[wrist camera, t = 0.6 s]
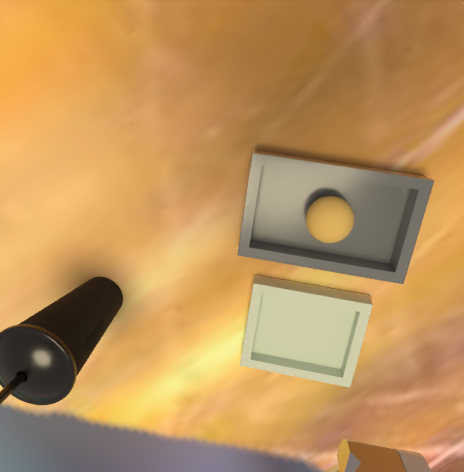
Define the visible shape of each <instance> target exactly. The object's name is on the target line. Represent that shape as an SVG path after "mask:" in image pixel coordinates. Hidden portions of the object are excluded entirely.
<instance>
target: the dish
mask: <svg viewBox="0 0 464 472" xmlns="http://www.w3.org/2000/svg"><path fill="white" fill-rule="evenodd" d="M433 183H434V180H432V179H430V178H428V177H426V176H424V175H419V174H412V173H405V172H399V171H392V170H385V169H379V168H372V167H366V166H359V165H352V164H346V163H339V162H332V161H326V160H319V159H312V158H306V157H299V156H293V155H286V154H279V153H273V152H266V151H259V150H255V151H254V152H253V154H252V161H251V168H250V174H249V181H248V188H247V195H246V201H245V208H244V215H243V222H242V228H241V235H240V242H239V249H238V255H239V256H245V257H251V258H257V259H262V260H268V261H274V262H279V263H285V264H291V265H297V266H302V267H308V268H314V269H319V270H325V271H331V272H337V273H342V274H348V275H354V276H359V277H365V278H371V279H377V280H382V281H388V282H394V283H400V284H404V280H405V277H406V274H407V270H408V267H409V263H410V260H411V257H412V253H413V250H414V247H415V243H416V240H417V237H418V233H419V230H420V226H421V223H422V220H423V216H424V213H425V210H426V206H427V203H428V200H429V196H430V193H431V189H432V186H433ZM324 196H336V197H339V198H341V199H343V200H345V201H346V202H347V203H348V204H349V205H350V207H351V208H352V211H353V214H354V225H353V228H352V230H351V232H350V233H349V235H348V236H347V237H346V238H344V239H343V240H341V241H338V242H335V243H324V242H321V241H319V240H317V239H315V238H314V237H313V236H312V235H311V234H310V233H309V231H308V229H307V226H306V213H307V211H308V209H309V207H310V206H311V204H312V203H313V202H314V201H316V200H317V199H319V198H321V197H324Z"/></svg>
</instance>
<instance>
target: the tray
mask: <svg viewBox="0 0 464 472" xmlns="http://www.w3.org/2000/svg"><path fill="white" fill-rule="evenodd" d="M372 306H373V304H372V302H371V300H370V297H369V295H367V294H361V293H356V292H350V291H344V290H339V289H333V288H328V287H322V286H316V285H311V284H305V283H300V282H294V281H288V280H283V279H277V278H272V277H266V276H260V275H255V279H254V284H253V290H252V296H251V302H250V308H249V314H248V320H247V326H246V332H245V338H244V344H243V351H242V357H241V363H240V366H245V367H250V368H255V369H260V370H265V371H270V372H275V373H280V374H285V375H290V376H295V377H300V378H305V379H310V380H315V381H320V382H325V383H330V384H335V385H340V386H345V387H350V386H351V382H352V379H353V375H354V371H355V368H356V364H357V361H358V357H359V353H360V350H361V346H362V342H363V339H364V335H365V331H366V328H367V324H368V321H369V317H370V313H371V310H372Z"/></svg>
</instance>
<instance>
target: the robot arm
mask: <svg viewBox="0 0 464 472" xmlns="http://www.w3.org/2000/svg"><path fill="white" fill-rule="evenodd" d="M337 458H338V463H339V470H338V471H337V472H431V470H430V468H429V466H428V464H427V462H426V460H425V458H424V457H423V456H422V455H421V454H420V453H416V452H411V451H405V450H400V449H390V448H385V447H380V446H376V445H371V444H366V443H361V442H356V441H351V440H346V439H343V440H342V442H341V444H340V447H339V451H338V454H337Z"/></svg>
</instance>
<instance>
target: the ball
mask: <svg viewBox="0 0 464 472" xmlns="http://www.w3.org/2000/svg"><path fill="white" fill-rule="evenodd" d="M353 225H354V214H353V211H352V208H351V207H350V205H349V204H348V203H347V202H346V201H345V200H343V199H341V198H339V197H336V196H324V197H321V198H319V199H317V200H316V201H314V202H313V203H312V204H311V206H310V207H309V209H308V211H307V213H306V226H307V229H308V231H309V233H310V234H311V235H312V236H313V237H314V238H315V239H317V240H319V241H321V242H324V243H335V242H338V241H341V240H343V239H344V238H346V237H347V236H348V235H349V233H350V232H351V230H352V228H353Z"/></svg>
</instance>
